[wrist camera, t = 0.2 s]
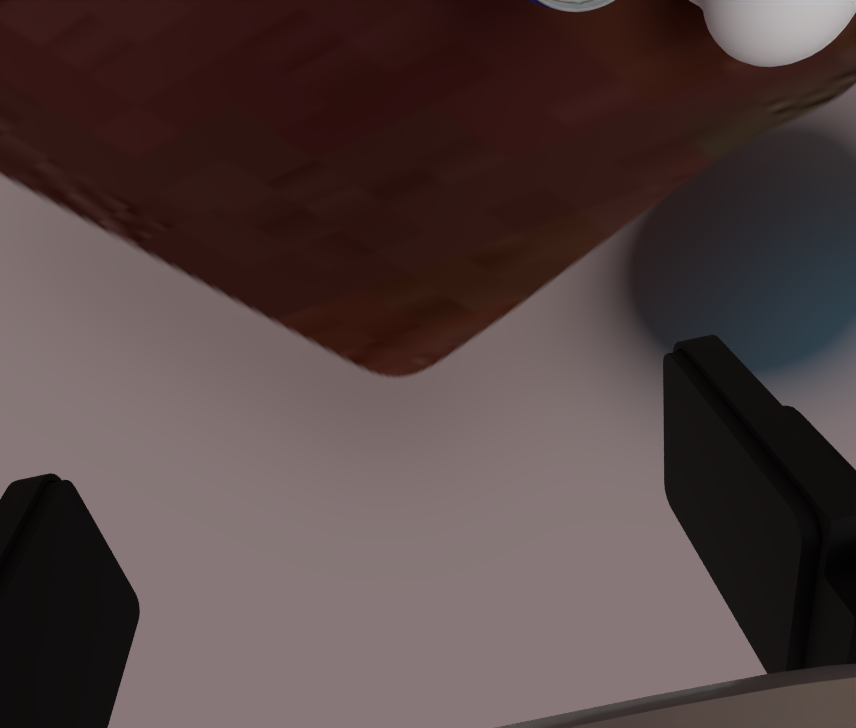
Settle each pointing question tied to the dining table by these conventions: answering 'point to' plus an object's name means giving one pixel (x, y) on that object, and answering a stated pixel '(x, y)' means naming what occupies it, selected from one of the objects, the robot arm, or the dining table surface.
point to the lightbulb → (775, 27)
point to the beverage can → (573, 4)
